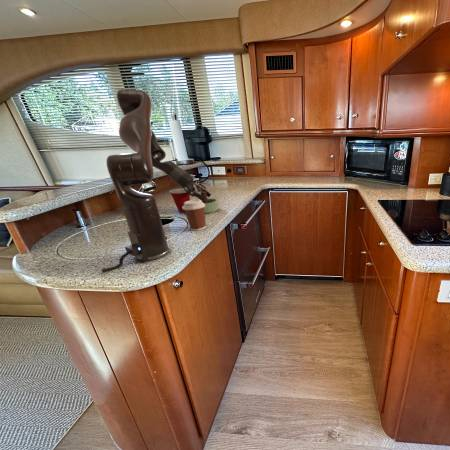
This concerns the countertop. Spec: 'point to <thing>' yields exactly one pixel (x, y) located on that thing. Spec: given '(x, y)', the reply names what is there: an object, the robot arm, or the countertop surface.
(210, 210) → the bowl
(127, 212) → the robot arm
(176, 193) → the plastic cup
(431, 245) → the countertop surface
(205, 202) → the muddler
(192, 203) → the coffee cup
